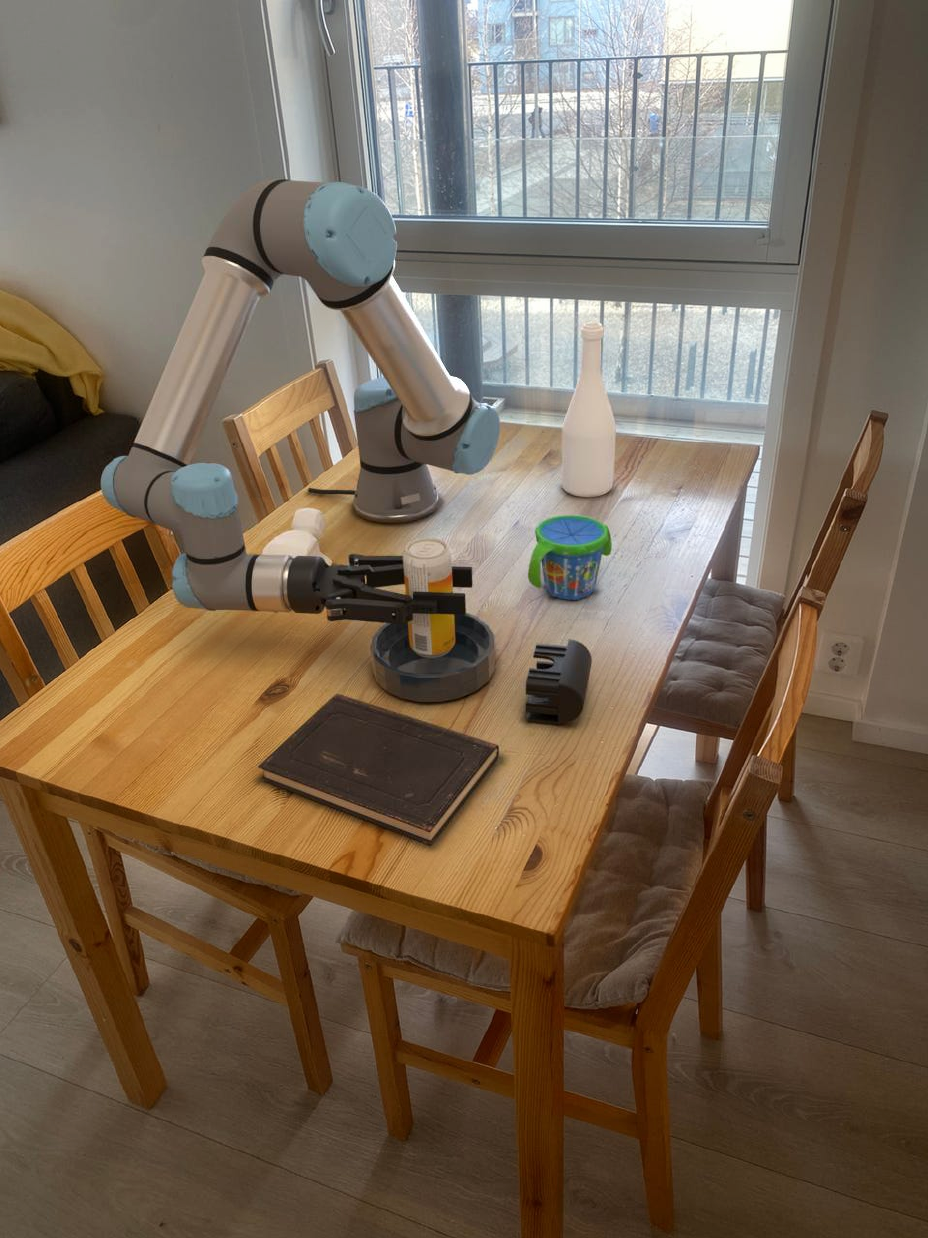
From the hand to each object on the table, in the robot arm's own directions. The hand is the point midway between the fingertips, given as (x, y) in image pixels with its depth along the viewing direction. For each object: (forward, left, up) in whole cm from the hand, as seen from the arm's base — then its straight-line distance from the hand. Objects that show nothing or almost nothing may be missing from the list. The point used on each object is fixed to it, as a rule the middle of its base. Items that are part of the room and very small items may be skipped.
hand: (468, 590), depth 120 cm
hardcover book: (+3, -22, -13) cm, 25 cm away
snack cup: (0, +25, -13) cm, 28 cm away
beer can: (-4, -3, -9) cm, 11 cm away
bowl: (-4, -3, -12) cm, 13 cm away
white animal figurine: (-39, +6, -13) cm, 42 cm away
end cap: (+14, 0, -13) cm, 19 cm away
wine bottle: (-17, +58, -13) cm, 62 cm away
